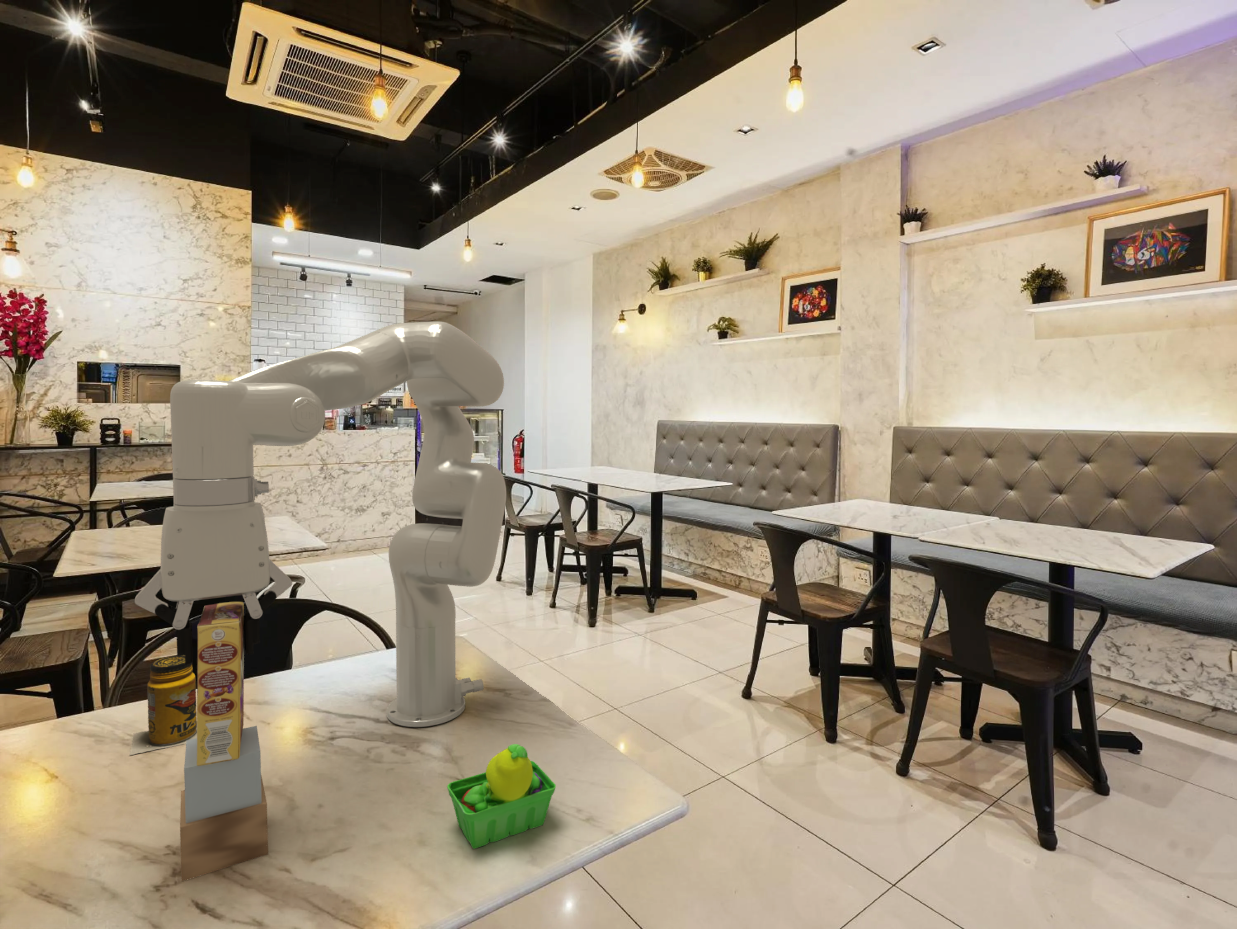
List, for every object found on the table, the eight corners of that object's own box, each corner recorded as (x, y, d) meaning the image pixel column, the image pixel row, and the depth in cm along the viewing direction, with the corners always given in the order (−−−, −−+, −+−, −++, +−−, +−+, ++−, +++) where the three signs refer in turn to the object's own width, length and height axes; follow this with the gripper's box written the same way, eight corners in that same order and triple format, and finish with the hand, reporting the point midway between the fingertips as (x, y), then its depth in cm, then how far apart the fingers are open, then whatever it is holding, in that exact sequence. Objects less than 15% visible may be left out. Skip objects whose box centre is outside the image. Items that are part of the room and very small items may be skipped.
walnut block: (261, 818, 78) (260, 770, 78) (268, 855, 72) (267, 803, 71) (182, 841, 74) (180, 791, 74) (181, 882, 67) (180, 827, 67)
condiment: (199, 741, 97) (197, 663, 96) (129, 756, 92) (126, 675, 91) (199, 722, 103) (197, 648, 102) (133, 735, 98) (130, 659, 97)
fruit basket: (531, 795, 84) (531, 711, 83) (563, 832, 76) (563, 740, 75) (445, 824, 77) (444, 733, 77) (470, 867, 70) (470, 767, 69)
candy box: (243, 759, 69) (240, 620, 68) (196, 768, 67) (192, 626, 66) (247, 724, 77) (244, 599, 76) (204, 732, 75) (201, 604, 74)
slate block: (257, 774, 77) (256, 725, 77) (261, 803, 71) (260, 751, 71) (187, 791, 73) (186, 740, 73) (185, 823, 68) (184, 768, 67)
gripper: (296, 487, 78) (299, 633, 79) (119, 494, 69) (126, 660, 70) (305, 493, 72) (309, 651, 73) (113, 502, 62) (120, 684, 64)
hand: (219, 654), depth 71 cm, fingers open, 5 cm apart
